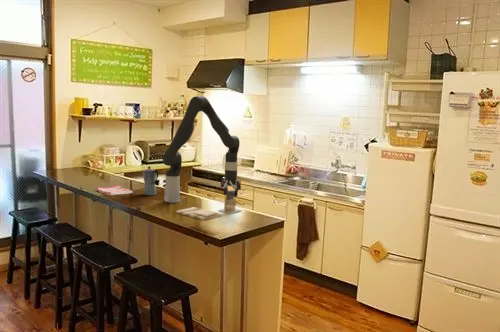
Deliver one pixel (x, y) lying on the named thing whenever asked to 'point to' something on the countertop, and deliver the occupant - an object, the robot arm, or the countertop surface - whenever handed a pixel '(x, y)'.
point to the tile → (205, 213)
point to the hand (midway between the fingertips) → (230, 195)
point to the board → (193, 209)
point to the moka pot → (150, 181)
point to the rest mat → (230, 211)
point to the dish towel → (114, 190)
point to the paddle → (229, 201)
